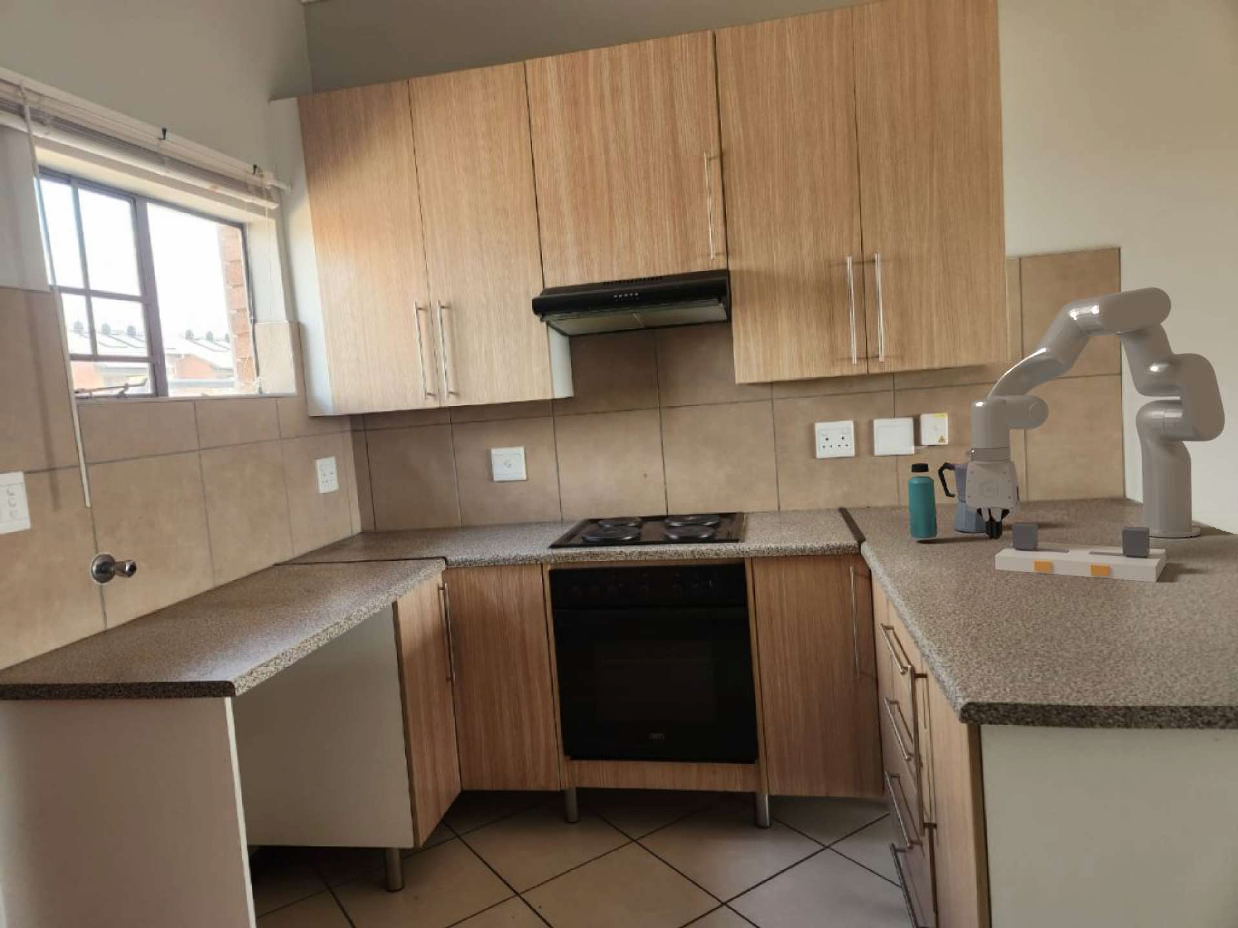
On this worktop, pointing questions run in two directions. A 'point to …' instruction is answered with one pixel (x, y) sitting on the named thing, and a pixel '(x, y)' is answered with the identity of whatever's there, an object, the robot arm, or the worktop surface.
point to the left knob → (1025, 535)
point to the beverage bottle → (922, 504)
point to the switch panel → (1083, 561)
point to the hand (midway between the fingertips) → (994, 538)
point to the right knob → (1136, 541)
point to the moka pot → (962, 500)
